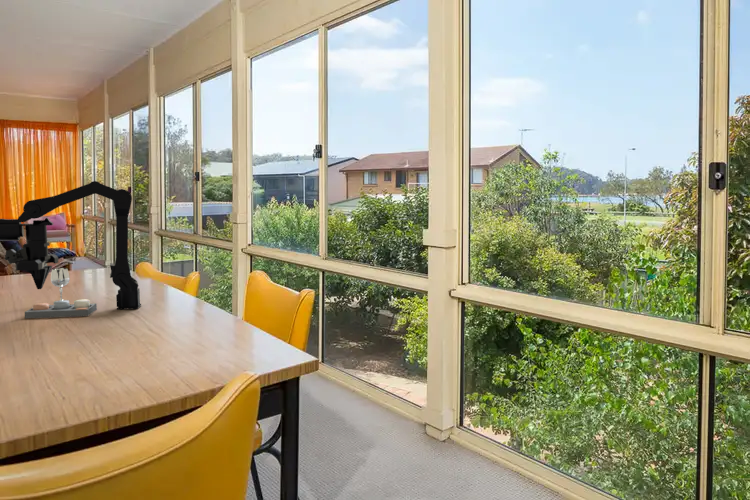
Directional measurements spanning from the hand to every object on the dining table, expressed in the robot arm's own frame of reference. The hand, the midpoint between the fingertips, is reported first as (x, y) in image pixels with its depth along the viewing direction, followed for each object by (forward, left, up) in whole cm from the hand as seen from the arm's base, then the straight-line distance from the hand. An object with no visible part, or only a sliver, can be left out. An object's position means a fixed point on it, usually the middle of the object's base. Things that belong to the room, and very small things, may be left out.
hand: (39, 289), depth 179 cm
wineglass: (0, -19, -8) cm, 21 cm away
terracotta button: (0, 0, -7) cm, 8 cm away
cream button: (-12, 0, -7) cm, 14 cm away
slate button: (-6, 0, -7) cm, 9 cm away
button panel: (-6, 0, -8) cm, 10 cm away
